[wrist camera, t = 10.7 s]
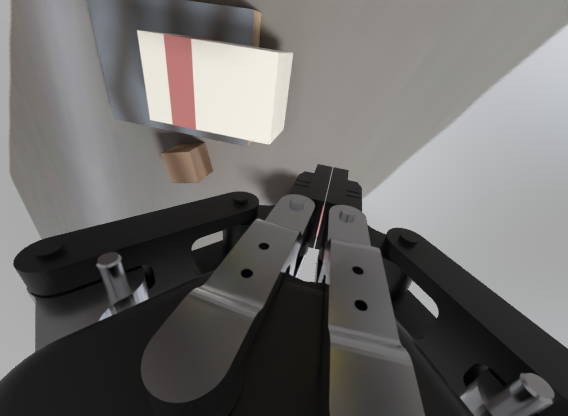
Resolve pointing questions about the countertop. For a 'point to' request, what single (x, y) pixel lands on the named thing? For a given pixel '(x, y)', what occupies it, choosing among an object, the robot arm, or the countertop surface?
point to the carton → (215, 85)
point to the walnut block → (187, 162)
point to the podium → (164, 19)
